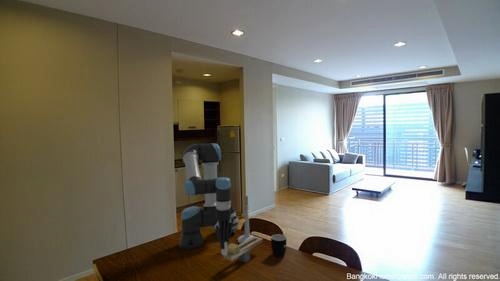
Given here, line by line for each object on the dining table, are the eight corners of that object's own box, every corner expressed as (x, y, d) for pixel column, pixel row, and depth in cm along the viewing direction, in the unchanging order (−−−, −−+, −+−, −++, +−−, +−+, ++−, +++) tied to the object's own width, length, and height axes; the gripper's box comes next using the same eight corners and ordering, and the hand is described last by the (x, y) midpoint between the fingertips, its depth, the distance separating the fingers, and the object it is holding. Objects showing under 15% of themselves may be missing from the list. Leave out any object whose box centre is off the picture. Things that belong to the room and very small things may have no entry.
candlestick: (256, 244, 165) (256, 197, 164) (236, 244, 165) (236, 197, 164) (256, 236, 178) (256, 192, 177) (238, 236, 178) (237, 193, 177)
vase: (243, 232, 185) (242, 191, 184) (226, 239, 173) (226, 195, 172) (228, 226, 196) (227, 188, 195) (211, 233, 184) (211, 192, 183)
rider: (225, 255, 137) (225, 246, 137) (232, 251, 141) (231, 243, 140) (233, 258, 133) (233, 249, 133) (240, 254, 137) (239, 245, 137)
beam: (223, 268, 135) (222, 253, 135) (254, 249, 158) (254, 236, 158) (231, 272, 132) (231, 257, 131) (262, 251, 154) (262, 238, 154)
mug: (285, 259, 145) (285, 241, 145) (269, 257, 147) (269, 239, 147) (288, 249, 156) (287, 233, 156) (273, 248, 159) (273, 231, 158)
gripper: (219, 213, 123) (220, 261, 124) (237, 206, 134) (238, 251, 135) (208, 210, 128) (209, 257, 129) (226, 204, 138) (227, 247, 139)
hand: (224, 254), depth 132 cm, fingers closed
